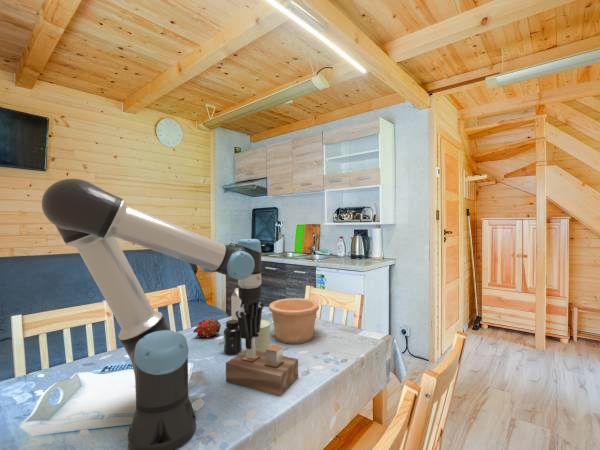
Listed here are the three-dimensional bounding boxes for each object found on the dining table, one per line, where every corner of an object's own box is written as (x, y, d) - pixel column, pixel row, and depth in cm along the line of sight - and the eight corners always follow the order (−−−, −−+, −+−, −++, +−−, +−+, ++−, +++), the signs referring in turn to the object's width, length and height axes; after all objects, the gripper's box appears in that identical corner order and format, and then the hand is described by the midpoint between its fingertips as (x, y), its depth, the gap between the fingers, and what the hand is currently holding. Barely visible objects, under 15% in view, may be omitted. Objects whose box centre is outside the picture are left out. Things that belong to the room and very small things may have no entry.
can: (252, 360, 114) (251, 328, 114) (242, 351, 122) (242, 321, 122) (274, 354, 119) (274, 323, 119) (264, 346, 127) (263, 317, 127)
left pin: (252, 378, 100) (252, 361, 100) (242, 375, 102) (242, 359, 102) (259, 372, 104) (259, 356, 104) (249, 370, 106) (249, 354, 106)
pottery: (307, 325, 152) (307, 296, 151) (327, 342, 131) (327, 308, 131) (264, 331, 144) (264, 300, 144) (277, 350, 123) (277, 314, 123)
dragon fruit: (223, 338, 141) (196, 346, 135) (218, 322, 146) (192, 330, 141) (223, 326, 135) (195, 335, 130) (218, 311, 141) (191, 319, 136)
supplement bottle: (221, 355, 119) (221, 324, 119) (226, 348, 126) (226, 318, 126) (239, 355, 119) (239, 324, 118) (243, 348, 126) (243, 318, 125)
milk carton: (231, 326, 151) (231, 287, 151) (244, 323, 156) (243, 285, 155) (239, 330, 146) (238, 289, 145) (252, 326, 151) (251, 287, 150)
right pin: (276, 369, 96) (276, 351, 96) (265, 366, 98) (265, 349, 98) (282, 363, 100) (282, 346, 100) (272, 361, 102) (272, 344, 102)
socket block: (280, 396, 91) (280, 376, 91) (225, 381, 100) (225, 362, 100) (298, 377, 102) (298, 359, 102) (247, 365, 111) (247, 348, 111)
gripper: (247, 291, 95) (248, 367, 95) (270, 283, 107) (270, 351, 107) (228, 289, 98) (229, 363, 99) (251, 281, 110) (252, 347, 110)
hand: (250, 356), depth 103 cm, fingers closed
